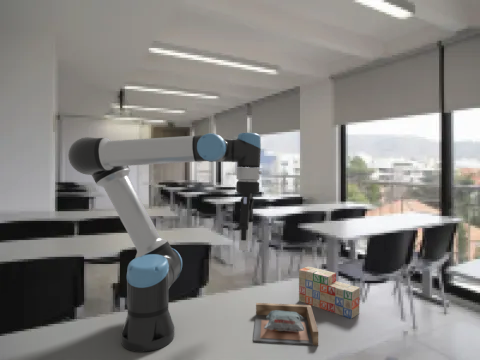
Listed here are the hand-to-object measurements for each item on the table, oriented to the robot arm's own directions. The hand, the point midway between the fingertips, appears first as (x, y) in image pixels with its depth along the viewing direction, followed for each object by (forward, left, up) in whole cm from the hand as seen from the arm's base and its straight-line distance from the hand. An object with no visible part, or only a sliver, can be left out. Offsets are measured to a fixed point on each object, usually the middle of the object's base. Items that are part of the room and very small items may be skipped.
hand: (245, 245), depth 107 cm
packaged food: (+12, -6, -25) cm, 28 cm away
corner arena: (+12, -4, -25) cm, 28 cm away
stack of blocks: (+29, +14, -25) cm, 41 cm away
